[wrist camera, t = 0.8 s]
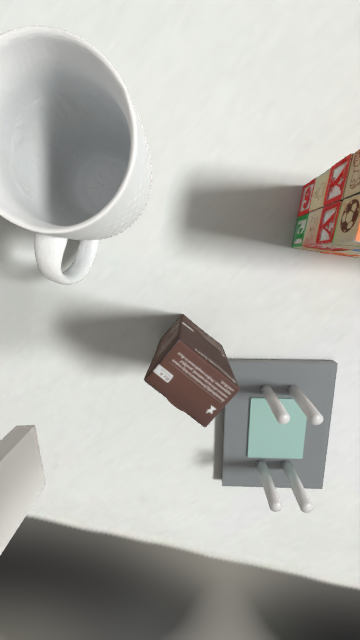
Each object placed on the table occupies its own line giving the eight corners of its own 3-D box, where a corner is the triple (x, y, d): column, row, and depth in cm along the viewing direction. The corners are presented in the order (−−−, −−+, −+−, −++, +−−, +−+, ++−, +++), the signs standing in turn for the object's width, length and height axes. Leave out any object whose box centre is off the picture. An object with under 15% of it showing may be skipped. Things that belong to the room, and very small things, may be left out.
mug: (138, 292, 31) (102, 314, 18) (41, 265, 31) (-64, 269, 18) (173, 147, 28) (159, 53, 15) (65, 116, 28) (-41, -5, 15)
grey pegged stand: (221, 479, 36) (228, 531, 29) (226, 358, 32) (235, 385, 26) (318, 482, 35) (349, 535, 28) (333, 360, 32) (371, 387, 25)
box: (224, 343, 32) (243, 391, 20) (198, 371, 33) (202, 433, 21) (183, 309, 31) (178, 338, 20) (157, 339, 32) (139, 384, 21)
